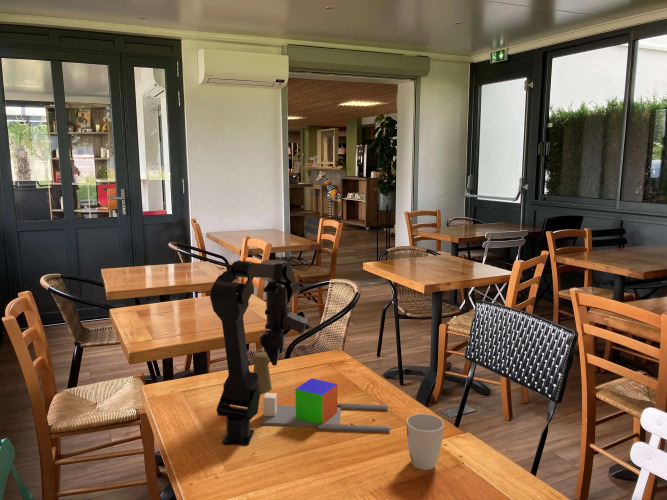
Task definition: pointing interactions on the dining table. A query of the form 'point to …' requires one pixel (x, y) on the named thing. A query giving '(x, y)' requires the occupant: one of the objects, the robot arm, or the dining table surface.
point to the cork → (262, 371)
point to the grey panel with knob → (287, 414)
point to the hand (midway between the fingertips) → (277, 359)
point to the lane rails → (357, 427)
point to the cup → (424, 440)
